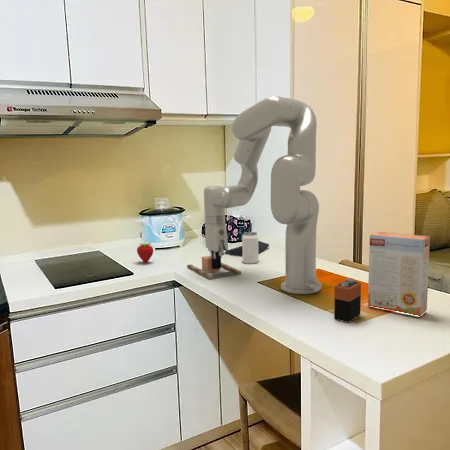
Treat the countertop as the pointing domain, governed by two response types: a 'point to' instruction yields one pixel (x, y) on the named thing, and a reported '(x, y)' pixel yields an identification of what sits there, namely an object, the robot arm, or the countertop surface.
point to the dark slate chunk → (238, 250)
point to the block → (207, 264)
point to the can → (250, 247)
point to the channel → (216, 276)
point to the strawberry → (145, 252)
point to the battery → (347, 300)
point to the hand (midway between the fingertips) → (216, 268)
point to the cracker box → (398, 272)
